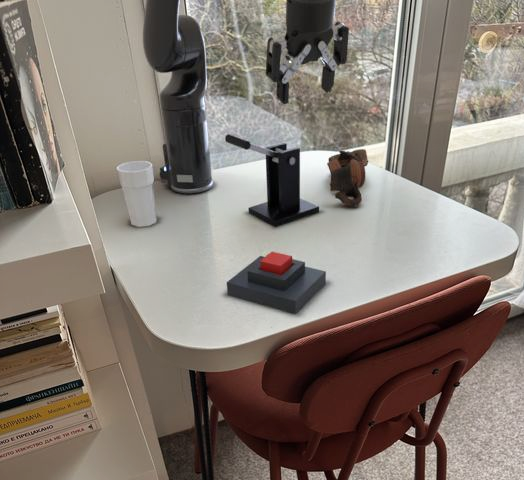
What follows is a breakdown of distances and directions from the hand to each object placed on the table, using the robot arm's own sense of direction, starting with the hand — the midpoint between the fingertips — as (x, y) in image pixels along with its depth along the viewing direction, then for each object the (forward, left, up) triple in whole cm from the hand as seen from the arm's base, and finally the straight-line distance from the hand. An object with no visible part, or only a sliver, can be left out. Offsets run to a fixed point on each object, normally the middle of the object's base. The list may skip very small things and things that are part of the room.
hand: (304, 96), depth 95 cm
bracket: (-5, 0, -22) cm, 23 cm away
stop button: (+9, -27, -19) cm, 34 cm away
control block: (+9, -27, -22) cm, 36 cm away
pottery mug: (+1, +9, -18) cm, 20 cm away
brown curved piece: (-4, +20, -18) cm, 27 cm away
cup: (-28, -16, -22) cm, 39 cm away
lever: (-7, -5, -10) cm, 13 cm away
